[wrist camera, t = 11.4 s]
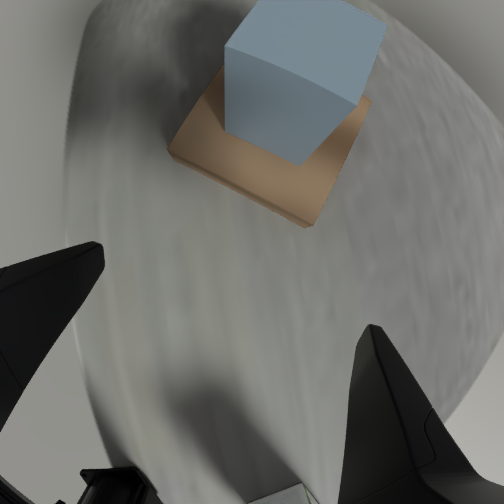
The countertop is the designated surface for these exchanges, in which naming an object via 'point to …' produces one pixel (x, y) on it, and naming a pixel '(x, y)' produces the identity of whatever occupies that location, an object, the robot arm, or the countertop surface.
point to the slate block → (297, 72)
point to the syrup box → (289, 496)
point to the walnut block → (263, 158)
